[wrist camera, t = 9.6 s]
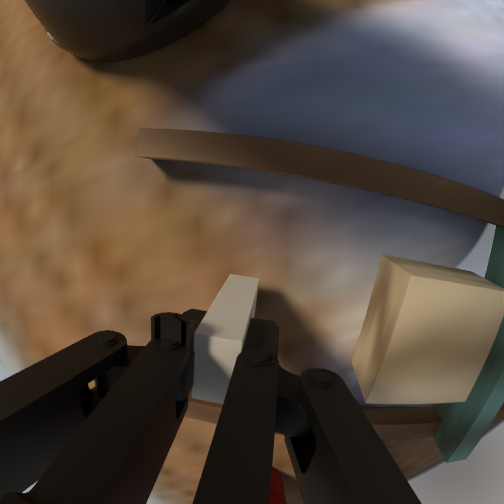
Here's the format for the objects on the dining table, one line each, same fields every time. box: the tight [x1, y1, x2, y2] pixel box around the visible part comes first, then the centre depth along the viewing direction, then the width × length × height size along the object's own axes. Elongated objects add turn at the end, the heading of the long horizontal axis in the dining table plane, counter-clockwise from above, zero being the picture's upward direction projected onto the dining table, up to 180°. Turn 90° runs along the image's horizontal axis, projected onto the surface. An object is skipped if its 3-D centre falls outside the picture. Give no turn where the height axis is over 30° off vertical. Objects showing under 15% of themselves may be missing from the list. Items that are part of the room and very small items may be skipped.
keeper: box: [351, 255, 504, 404], centre depth 15 cm, size 7×7×4 cm
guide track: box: [136, 128, 504, 463], centre depth 15 cm, size 17×24×5 cm
